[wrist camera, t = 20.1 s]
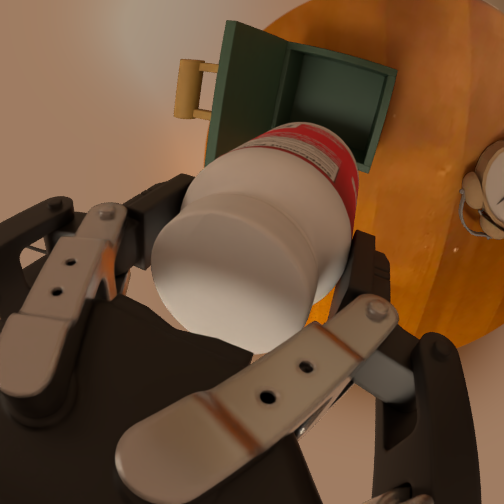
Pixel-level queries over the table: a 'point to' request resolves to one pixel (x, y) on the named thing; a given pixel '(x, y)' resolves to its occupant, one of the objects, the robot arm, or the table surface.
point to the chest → (335, 96)
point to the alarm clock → (486, 192)
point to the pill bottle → (260, 237)
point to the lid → (234, 88)
